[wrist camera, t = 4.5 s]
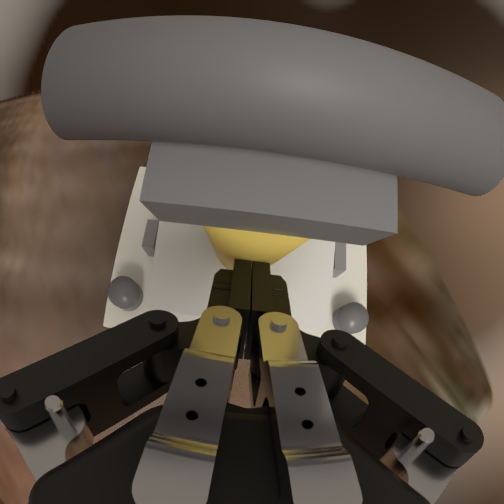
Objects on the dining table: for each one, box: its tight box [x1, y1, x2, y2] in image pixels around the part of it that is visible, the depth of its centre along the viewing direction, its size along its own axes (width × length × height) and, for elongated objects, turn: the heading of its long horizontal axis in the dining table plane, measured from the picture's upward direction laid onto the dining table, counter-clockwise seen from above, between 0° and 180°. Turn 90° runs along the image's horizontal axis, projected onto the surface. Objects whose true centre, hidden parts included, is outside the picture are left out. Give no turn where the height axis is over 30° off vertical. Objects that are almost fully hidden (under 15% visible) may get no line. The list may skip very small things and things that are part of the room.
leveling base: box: [103, 167, 369, 348], centre depth 28 cm, size 23×16×4 cm
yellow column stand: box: [41, 16, 504, 329], centre depth 15 cm, size 14×12×22 cm
